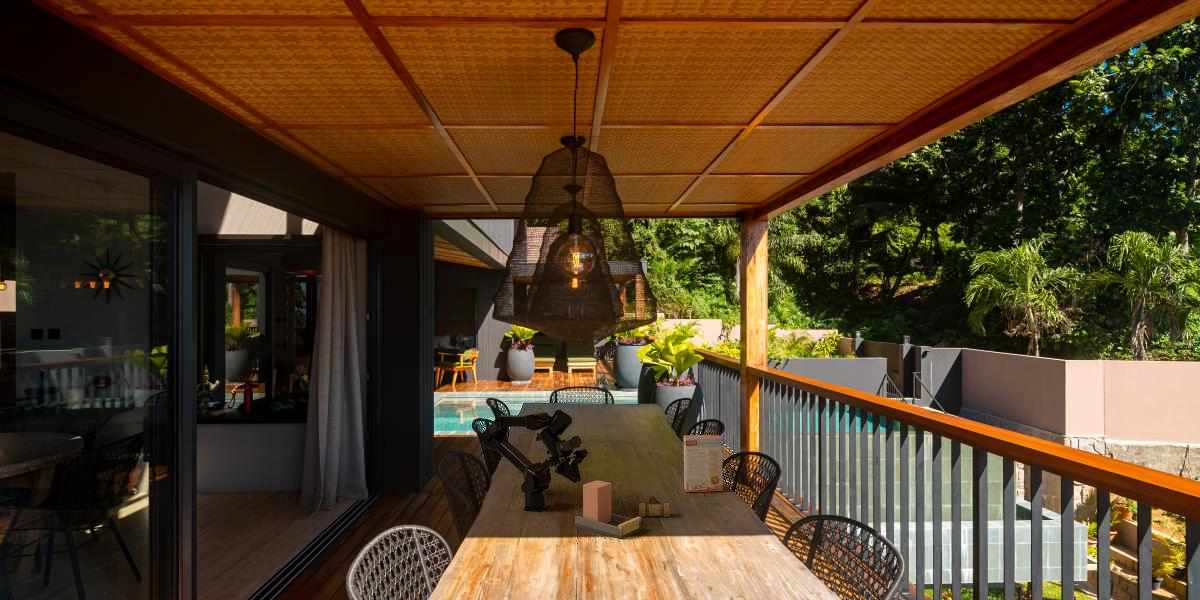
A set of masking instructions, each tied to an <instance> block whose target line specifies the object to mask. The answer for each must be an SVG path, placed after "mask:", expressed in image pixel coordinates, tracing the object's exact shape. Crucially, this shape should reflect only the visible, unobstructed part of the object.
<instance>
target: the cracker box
mask: <svg viewBox="0 0 1200 600" xmlns="http://www.w3.org/2000/svg"><path fill="white" fill-rule="evenodd" d="M683 484H684V486H683V487H684V488H683V490H684V491H685V493H687V492H696V493H714V492H713V491H724V490H723V487H724V486H723V437H722V436H721V435H720V434H691V435H690V434H688V435H687V434H685V435H683ZM711 491H712V492H711Z"/></svg>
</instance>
